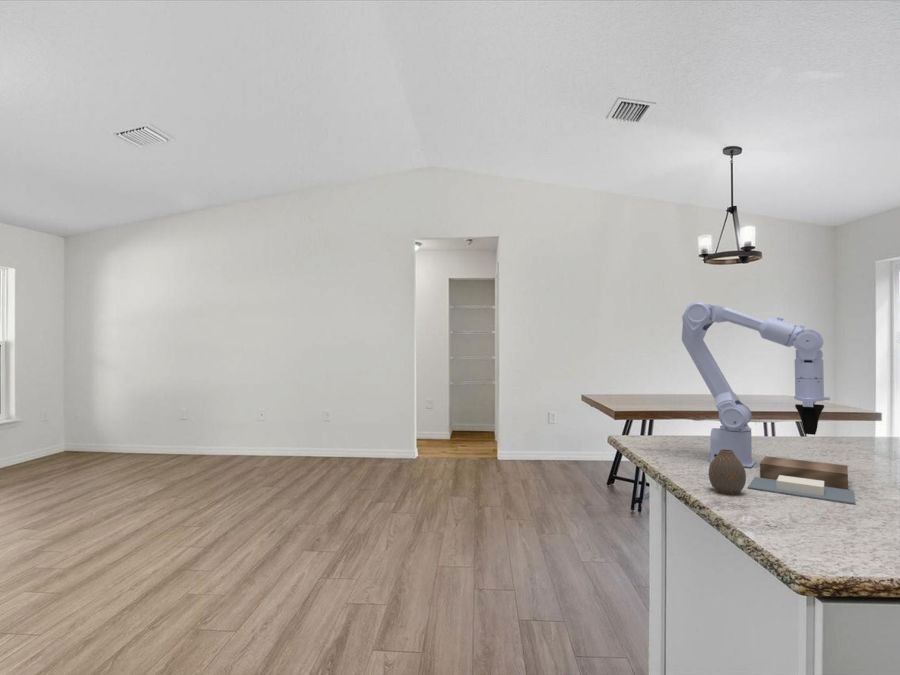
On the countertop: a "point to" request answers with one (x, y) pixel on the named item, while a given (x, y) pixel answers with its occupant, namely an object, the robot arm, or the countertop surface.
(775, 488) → the mat
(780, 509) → the countertop surface
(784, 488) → the tile
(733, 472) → the vase
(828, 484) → the block
